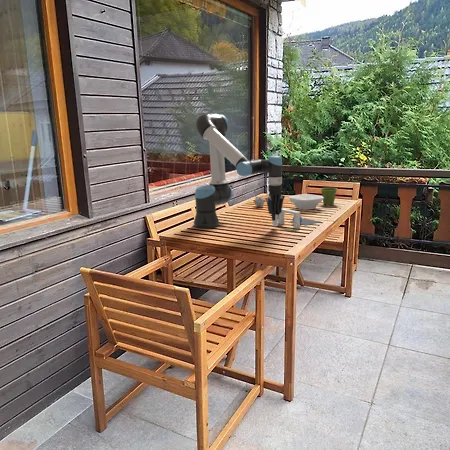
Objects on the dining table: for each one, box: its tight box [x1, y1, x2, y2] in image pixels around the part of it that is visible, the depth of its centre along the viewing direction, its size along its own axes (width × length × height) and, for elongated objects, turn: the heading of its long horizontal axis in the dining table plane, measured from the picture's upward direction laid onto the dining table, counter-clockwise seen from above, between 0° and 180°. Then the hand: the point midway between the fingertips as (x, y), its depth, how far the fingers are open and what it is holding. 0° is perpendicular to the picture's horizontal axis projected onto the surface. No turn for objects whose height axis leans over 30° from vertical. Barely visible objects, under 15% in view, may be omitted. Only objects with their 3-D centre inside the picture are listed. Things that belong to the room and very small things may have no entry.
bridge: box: [278, 207, 301, 229], centre depth 240 cm, size 3×14×9 cm, turn 37°
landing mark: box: [289, 217, 321, 226], centre depth 249 cm, size 13×13×1 cm
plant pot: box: [320, 187, 338, 206], centre depth 298 cm, size 12×12×11 cm
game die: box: [253, 195, 266, 208], centre depth 296 cm, size 9×8×10 cm
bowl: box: [288, 193, 324, 211], centre depth 285 cm, size 21×21×9 cm
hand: (275, 225), depth 234 cm, fingers closed
